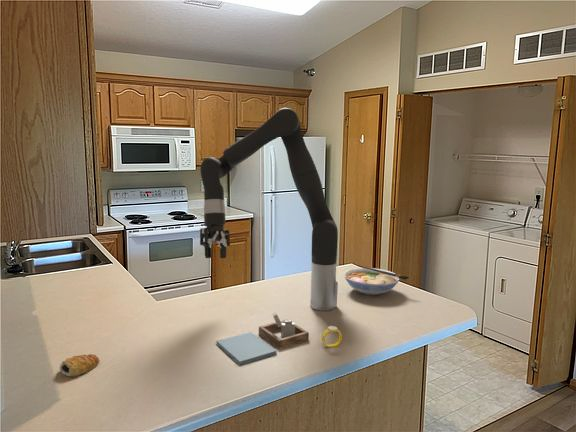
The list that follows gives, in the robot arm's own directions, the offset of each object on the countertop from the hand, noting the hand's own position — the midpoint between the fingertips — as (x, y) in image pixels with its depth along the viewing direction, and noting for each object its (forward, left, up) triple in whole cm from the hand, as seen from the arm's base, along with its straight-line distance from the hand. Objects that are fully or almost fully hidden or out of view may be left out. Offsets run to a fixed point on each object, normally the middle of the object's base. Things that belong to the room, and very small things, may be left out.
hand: (216, 258), depth 156 cm
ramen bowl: (-63, +15, -20) cm, 67 cm away
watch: (-18, +44, -20) cm, 51 cm away
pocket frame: (-9, +31, -20) cm, 38 cm away
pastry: (+49, +19, -20) cm, 56 cm away
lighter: (-9, +31, -20) cm, 38 cm away
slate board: (+5, +32, -20) cm, 38 cm away
